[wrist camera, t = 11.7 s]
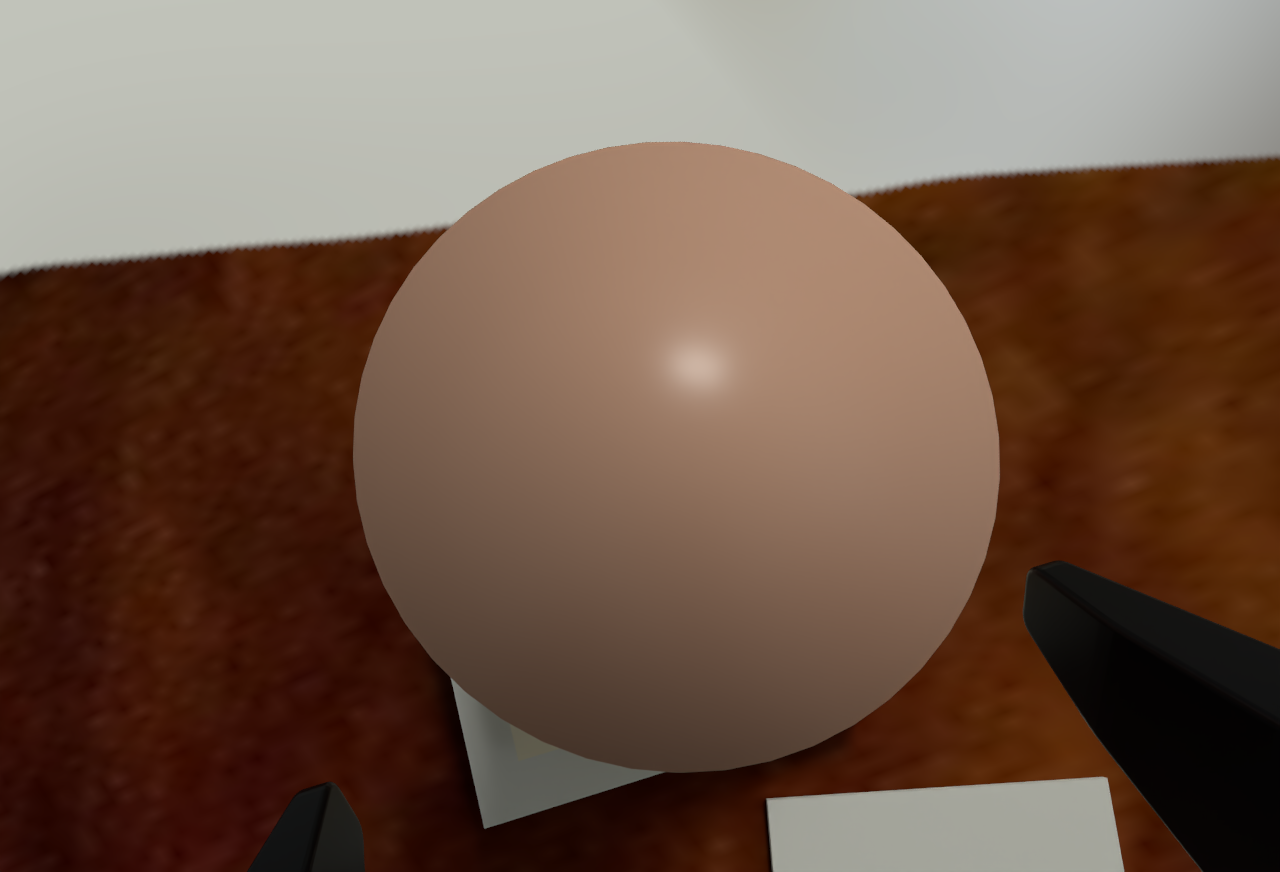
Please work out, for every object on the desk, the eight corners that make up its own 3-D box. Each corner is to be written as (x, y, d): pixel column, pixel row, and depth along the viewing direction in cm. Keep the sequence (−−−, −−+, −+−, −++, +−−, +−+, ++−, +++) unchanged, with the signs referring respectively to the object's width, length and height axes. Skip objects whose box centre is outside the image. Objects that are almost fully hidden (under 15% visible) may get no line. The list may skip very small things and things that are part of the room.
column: (713, 707, 17) (934, 864, 6) (486, 639, 18) (248, 656, 6) (770, 482, 19) (1045, 233, 7) (557, 420, 19) (478, 75, 7)
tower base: (858, 700, 21) (912, 714, 17) (493, 815, 20) (465, 857, 16) (744, 360, 24) (770, 306, 20) (410, 448, 23) (368, 409, 19)
